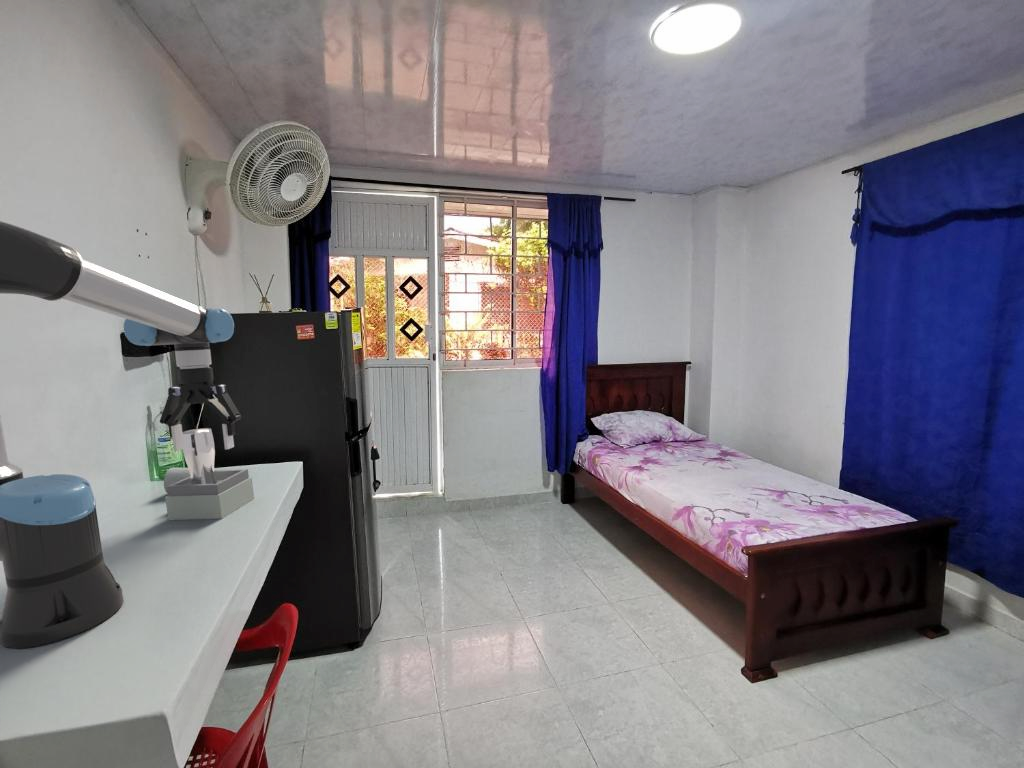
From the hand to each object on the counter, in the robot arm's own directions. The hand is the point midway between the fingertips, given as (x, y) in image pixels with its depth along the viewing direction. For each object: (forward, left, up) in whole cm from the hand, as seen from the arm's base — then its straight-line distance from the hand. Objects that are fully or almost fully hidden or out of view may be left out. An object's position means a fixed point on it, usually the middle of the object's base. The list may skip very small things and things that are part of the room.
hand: (204, 449), depth 128 cm
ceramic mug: (+16, +18, -17) cm, 29 cm away
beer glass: (0, +2, -10) cm, 11 cm away
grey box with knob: (0, +1, -16) cm, 16 cm away
